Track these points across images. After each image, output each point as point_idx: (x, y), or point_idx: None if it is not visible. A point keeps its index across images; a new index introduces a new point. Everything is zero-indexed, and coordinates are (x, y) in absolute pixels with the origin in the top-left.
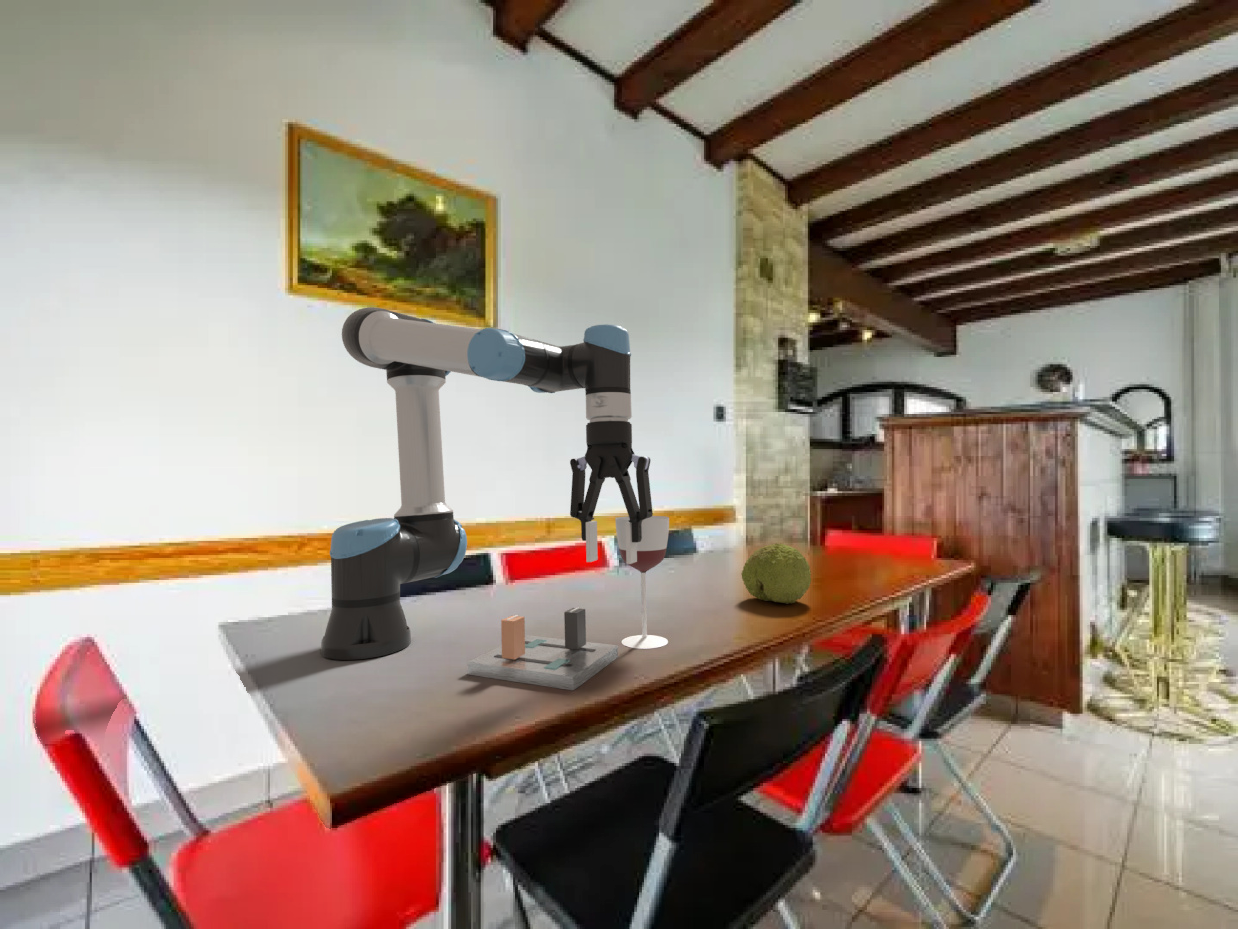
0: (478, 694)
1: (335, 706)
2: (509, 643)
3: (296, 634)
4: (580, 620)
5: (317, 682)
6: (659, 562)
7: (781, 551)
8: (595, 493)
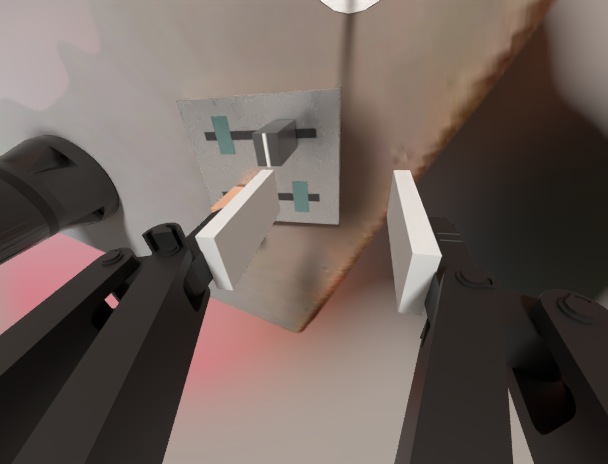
0: (267, 243)
1: None
2: None
3: None
4: (284, 149)
5: (151, 252)
6: None
7: None
8: (154, 429)
